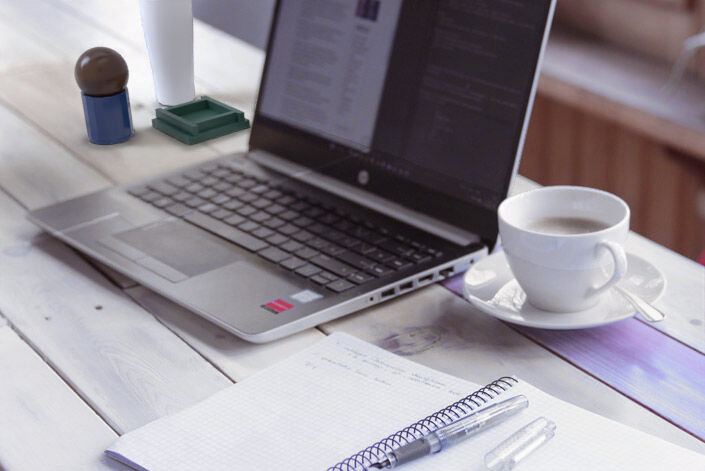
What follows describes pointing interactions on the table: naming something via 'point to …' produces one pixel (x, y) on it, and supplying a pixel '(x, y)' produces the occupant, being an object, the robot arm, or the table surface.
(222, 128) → the tray
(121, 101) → the cup
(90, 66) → the ball
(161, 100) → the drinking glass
